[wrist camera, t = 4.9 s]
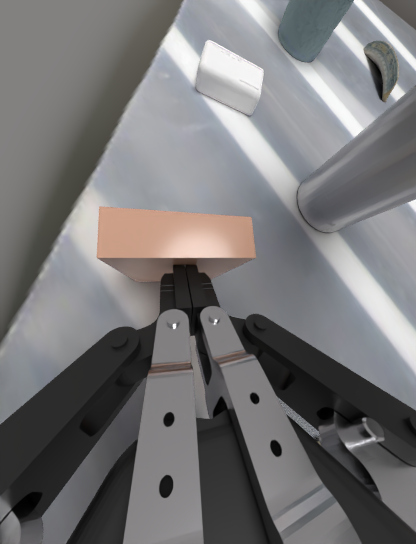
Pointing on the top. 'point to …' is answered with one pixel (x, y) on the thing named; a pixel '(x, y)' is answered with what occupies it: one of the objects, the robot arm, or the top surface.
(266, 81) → the top surface
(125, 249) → the terracotta tile
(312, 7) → the green ceramic cup
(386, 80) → the ceramic fragment
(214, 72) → the soap
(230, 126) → the top surface
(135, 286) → the top surface
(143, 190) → the top surface
